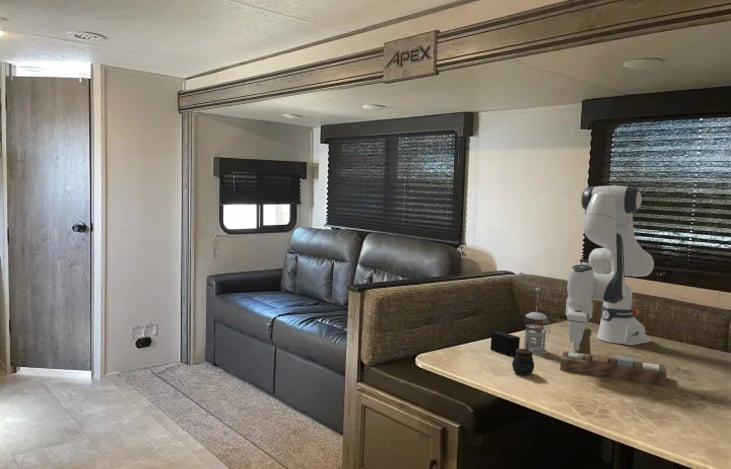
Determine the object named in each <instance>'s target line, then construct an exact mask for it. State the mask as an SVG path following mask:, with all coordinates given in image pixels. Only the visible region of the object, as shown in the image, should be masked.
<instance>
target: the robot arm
mask: <svg viewBox="0 0 731 469" xmlns="http://www.w3.org/2000/svg"><path fill="white" fill-rule="evenodd" d="M642 201H643V200H642V195H641V191H640V189H639V188H638V187H635V186H630V185H628V186H626V185H625V186H624V185H601V186H600V185H599V186H596V185H593V186H589V187H586V188H585V189H584V190H583V191H582V194H581V198H580V202H581V207H582V209H583V210H584V211H585V215H584V218H583V223H582V224H583V227H582V231H583V233H584V235H585V237H586V238H587V239H588V240H590V241H591V242H592V243H594V244H595V245H598V246H599V247H600V248H599V247H598V248H594V249H592V250H591V252H590V253H589V256H588V265H587V264H575V265H572V266H571V267H570V269H569V272H568V276H567V277H568V278H567V288H566V292H567V298H566V301H565V303H566V304H565V316H566V319H567V320H568V336H569V342H570V343H573V350H574V351H575V350H577V351H578V350H579V348H580V343H581V340H582V337H583V334H584V330H585V327H586V324H587V323H588V322H589V319H592V317H593V307H594V302H593V301H594V300H595V301H602V305H601V312H600V313H601V318H600V321H599V322H600V324H599V327H598V331H597V334H596V339H598V340H600V341H604V342H606V343H612V344H620V345H626V346H636V345H641V344H647V343H651V342H652V339H651V337H648V336H647V335H646V327H645V326H644V325H643V324H642V323H641V322H640V321H639V320H638V319H636V318H635V315H639V309H636V308H632V303H633V302H632V301H633V291H632V289H631V287H630V286H628V285H627V283H626V281H625V276H626V277H634V278H638V277H647V276H649V275H650V274H651V273H652V272H653V270H654V267H655V263H654V262H655V261H654V258H653V256H652V255H651V254H650V253H648V252H647V251H646V250H645V249H643V248H642V247H641V245H640V244H639V242H638V241H637V239H636V236H635V231H634V230H635V229H634V218H633V214H634V213H637V211H638V210H640V207H641V205H642Z"/></svg>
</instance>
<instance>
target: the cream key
mask: <svg viewBox="0 0 731 469" xmlns="http://www.w3.org/2000/svg"><path fill="white" fill-rule="evenodd" d="M649 363H650V362H645V363H643V365H642V369H648V370H655V371H660V368H659V365H660V364H659V365H656V364H657V363H652V364H649Z"/></svg>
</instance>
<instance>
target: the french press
mask: <svg viewBox="0 0 731 469" xmlns="http://www.w3.org/2000/svg"><path fill="white" fill-rule="evenodd" d="M534 290H535V291H536V292H537V294H536V296H537V297H536V302H538V299H539V298H538V297H539V292H541V288H540V287H536V288H535V289H534ZM525 318H527V319H530V320H535V321H541V323H542V324H546V326H544V325H540V324H537V323H535V324H534V323H533V324H531V323H529V324H526V326H525V327H526V328H525V329H524V340H523V347H522V348H521V349H526V342H527V343H528V347H527V349H528V350H531V351H532V352H533V355H535V356H537V355H538V356H539V355H541V356H542V355H547V354H548V351H547V350H546V338H548V336H549V335H550V333H551V327H552V326H551V323H550V321H549V320H548V316H547V315H545V314H544V313H541V312H538V307H536V310H535V311H532V312H529V313H527V314H525ZM548 324H549V325H548ZM548 328H549V329H548ZM545 329H546V330H545ZM548 330H549V331H548ZM547 333H548V334H547ZM546 334H547V335H546Z"/></svg>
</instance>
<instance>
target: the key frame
mask: <svg viewBox="0 0 731 469" xmlns="http://www.w3.org/2000/svg"><path fill="white" fill-rule="evenodd" d="M569 352H570V351H567V350H563V352H562V354H561V357H560V364H559V370H560V371H565V372H573V373H578V374H586V375H591V376H597V377H604V378H611V379H617V380H618V379H619V380H623V381H629V382H630V381H631V382H635V383H636V382H637V383H642V384H649V385H655V386H662V387H666V386H667V376H668V375H667V374H668V373H667V369H666V365H664V364H658V363H655V364H656V365H659V368H660V371H655V370H648V369H642V365H643V363H646V361H645V362H643V361H637V360H633V367H628V366H621V365H617V357H609V356H607V357H608V363H601V362H594V361H592V357H593V355H594V356H597V355H595V354H591V355H589V354H584V358H583V360H581V359H574V358H568V353H569ZM572 352H573V353H575V351H572ZM580 354H582V353H580ZM600 356H601V355H600ZM601 357H604V356H603V355H602V356H601ZM648 363H649V364H653V363H650V362H648Z"/></svg>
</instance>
